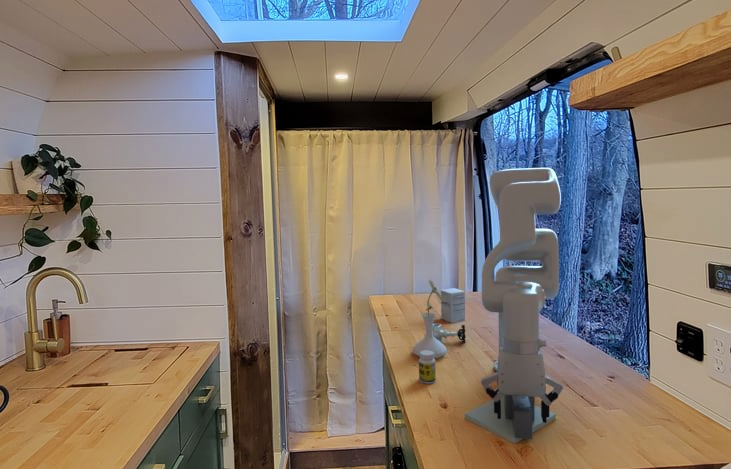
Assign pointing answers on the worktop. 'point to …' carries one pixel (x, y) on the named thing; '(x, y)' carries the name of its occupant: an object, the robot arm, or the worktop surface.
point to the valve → (447, 333)
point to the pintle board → (503, 420)
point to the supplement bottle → (427, 367)
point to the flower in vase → (430, 332)
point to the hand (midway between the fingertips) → (521, 417)
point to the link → (520, 414)
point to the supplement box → (453, 305)
